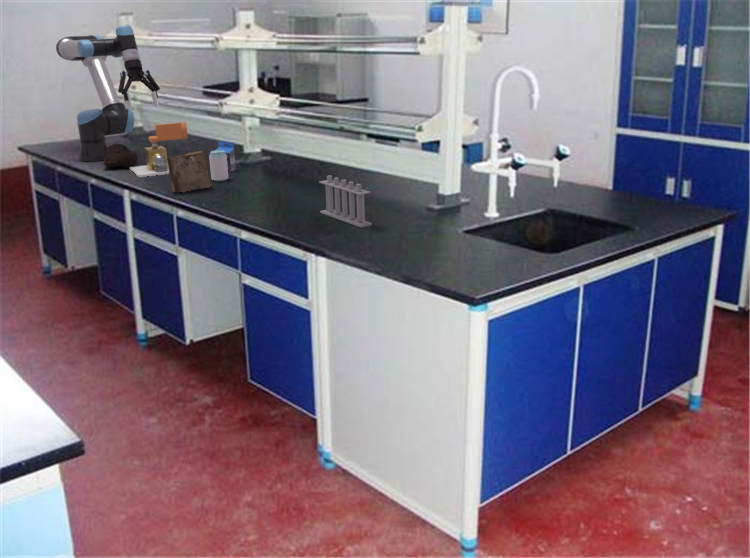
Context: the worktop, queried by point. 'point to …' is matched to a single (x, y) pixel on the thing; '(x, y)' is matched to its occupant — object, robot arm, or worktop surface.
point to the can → (218, 165)
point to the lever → (170, 132)
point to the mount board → (146, 171)
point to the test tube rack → (345, 201)
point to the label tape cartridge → (228, 154)
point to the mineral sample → (188, 171)
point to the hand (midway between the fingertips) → (143, 107)
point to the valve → (156, 158)
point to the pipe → (120, 156)
